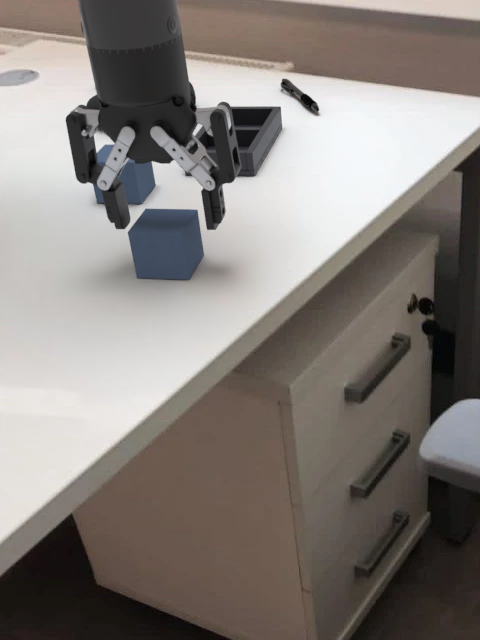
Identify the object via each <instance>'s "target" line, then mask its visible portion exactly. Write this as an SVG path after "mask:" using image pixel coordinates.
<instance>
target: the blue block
mask: <svg viewBox="0 0 480 640" xmlns="http://www.w3.org/2000/svg"><path fill="white" fill-rule="evenodd" d="M113 146H114V144H107V143H106V144H104V145H103V146H102V147H101V148H100V149H99V150H98V151H96V152H97V158H98V164H99V165H101V166H105V162H106V160H107V158H108V156H109V154H110V152H111V150H112V148H113ZM154 173H155V172H154V168H153V161H151V162H148V163H144V164H135V161H133V160H131V159H129V160H128V161H127V163H126V165H125V166H124V168H123V170H122V172H121V174H120V176H119V182H123V184H124V189H125V193H126V198H127V203H128V205H142V204H143V203H144V201H145V200H146V198H147V197H148V196H149V195H150V193H151V192H152V191H153V189H154V188H155V187H156V185H157V184H156V178H155V174H154ZM92 187H93V191H94V196H95V200H96V203H97V204H104V199H103V195H102V191H101V189H100V188H99V187H98V186H96V185H94V184H92Z"/></svg>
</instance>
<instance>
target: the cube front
mask: <svg viewBox="0 0 480 640" xmlns="http://www.w3.org/2000/svg"><path fill="white" fill-rule="evenodd" d="M198 210H199V209H190V208H189V209H186V208H185V209H184V208H145V209H144V210H143V212H142V213H141V214H140V215H139V217H138V218H137V219H136V221H135V222H134V223H133V224H132V226H131V227H130V228H129V230H128V232H127V235H128V242H129V246H130V251H131V256H132V261H133V266H134V271H135V275H136V278H137V279H155V280H178V281H179V280H181V281H182V280H183V281H190V279H191V277H192V276H193V274H194V272H195V271H196V269H197V267H198V265H200V262H201V261H202V259H203V257H204V256H205V251H204V245H203V238H202V231H201V225H200V218H199V217H200V216H199V211H198Z"/></svg>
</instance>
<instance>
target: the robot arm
mask: <svg viewBox="0 0 480 640" xmlns="http://www.w3.org/2000/svg"><path fill="white" fill-rule="evenodd" d="M178 5H179V4H178V0H77V6H78V11H79V17H80V28H81V32H82V34H83V36H84V40H85V44H86V49H87V55H88V59H89V63H90V68H91V74H92V78H93V83H94V87H95V92H96V95H97V96H98V98H99V101H100V110H89V109H88V107H86V104H78V105H77V106H76V107H75V108H74V109H72V110H71V111H69V113H68V114H67V115H66V117H65V125H66V130H67V135H68V141H69V147H70V151H71V157H72V162H73V168H74V169H73V170H74V174H75V178H76V181H78V182H79V183H80V184H82V185H83V184H88V183H89V184H90V185H91V184H92V185H93V184H94V185H96V186H98V187H99V188H100V189H101V191H102V195H103V199H104V203H103V204H104V207H105V212H106V213H105V214H106V217H107V219H108V221H109V222H110V224H114V228H115V230H126V228H127V227H128V226H129V225H130V223H131V214H130V209H129V204H128V203H127V198H126V193H125V189H124V184H123V182H119V176H120V174H121V172H122V170H123V168H124V166H125V165H126V163H127V161H128V160H129V159H131V160H133V161H135V164H144V163H148V162H151V161H152V163H158V164H166V165H167V164H168V165H169V164H171V163H172V162H173V161H175V162H176V164H177V165H178V166H179V167H180V168H181V169H182V171H184V173H185V172H187V173H190V174H191V175H190V176H192V177H193V178H194V179H195V180H196V182H197V183H198V184H199V185H200V186H201V187H202V189H201V190H200V193H201V194H200V195H201V199H202V200H201V201H202V207H203V212H204V214H203V215H204V219H205V220H204V221H205V226H206V230H207V231H216V230H217V229H218V227H219V225H220V224H221V223H222V222H223V220H224V218H225V215H226V213H227V211H226V204H225V203H226V202H225V196H224V195H225V194H224V188H223V185H225V184H233V182H234V181H235V180H236V178H237V177H238V176H237V175H238V173H239V171H240V170H241V160H240V155H239V149H238V144H237V138H236V133H235V127H234V121H233V116H232V110H231V107H232V106H231V104H229V103H228V102H226V101H220V102H219V103H218V104H217V105H216V106H212V107H199V108H198V106H196V105H195V104H194V102H193V101H192V98H191V95H190V85H189V82H190V80H189V79H190V78H189V71H188V66H187V65H188V64H187V59H186V58H187V57H186V53H185V52H186V51H185V46H184V45H185V44H184V39H183V31H182V25H181V18H180V13H179V6H178ZM198 124H199V125H201V126H204V128H205V130H206V132H207V134H208V135H210V136H213V138H214V144H215V149H216V154H217V159H218V164H219V166H217V164H216V163H215V162H214V161H213V160H212V159H211V158H210V157H209V155H208V154H207V151H206V149H205V147H204V146H203V145H202V144H201V143H200V141H199V140H198V139H197V138H196V137H195V134H194V132H195V130H196V128H197V126H198ZM98 126H99V127H100V129H101V130H102V132H104V133H105V135H107V136H108V138H109V139H110V140H111V141H112V142H113V145H114V146H113V148H112V150H111V152H110V154H109V156H108V158H107V160H106V162H105V166H101V165H99V164H98V158H97V152H98V151H97V147H96V146H97V145H96V141H95V134H96V133H97V132H98Z"/></svg>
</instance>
